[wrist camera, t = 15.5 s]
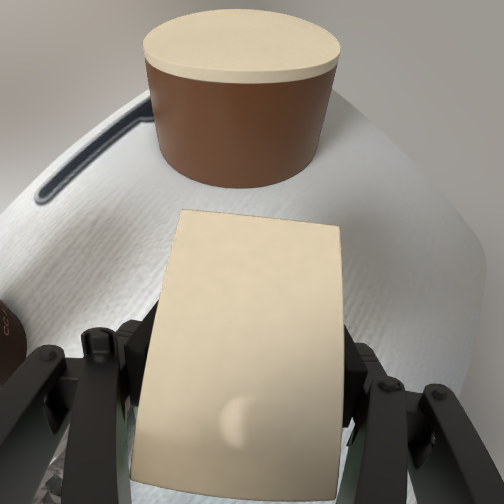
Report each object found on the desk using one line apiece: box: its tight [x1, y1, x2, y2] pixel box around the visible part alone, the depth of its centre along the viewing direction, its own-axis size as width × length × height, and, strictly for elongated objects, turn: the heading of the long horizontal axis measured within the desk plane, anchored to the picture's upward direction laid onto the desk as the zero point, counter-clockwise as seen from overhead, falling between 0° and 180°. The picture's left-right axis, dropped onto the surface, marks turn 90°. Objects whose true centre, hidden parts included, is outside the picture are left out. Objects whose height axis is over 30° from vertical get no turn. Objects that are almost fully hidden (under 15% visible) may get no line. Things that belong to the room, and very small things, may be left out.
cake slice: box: [130, 209, 344, 502], centre depth 12 cm, size 5×8×11 cm, turn 175°
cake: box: [143, 9, 341, 188], centre depth 26 cm, size 16×16×11 cm
